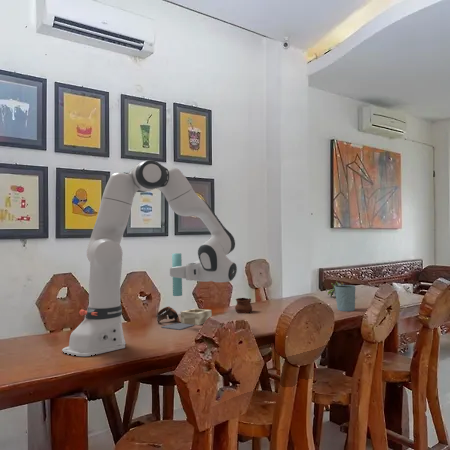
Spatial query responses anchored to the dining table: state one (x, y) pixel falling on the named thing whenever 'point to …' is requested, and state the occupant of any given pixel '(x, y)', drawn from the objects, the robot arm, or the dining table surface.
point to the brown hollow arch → (169, 312)
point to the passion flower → (334, 288)
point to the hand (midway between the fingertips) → (175, 269)
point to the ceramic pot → (243, 305)
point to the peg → (176, 281)
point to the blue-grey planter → (345, 297)
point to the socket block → (195, 316)
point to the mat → (177, 326)
